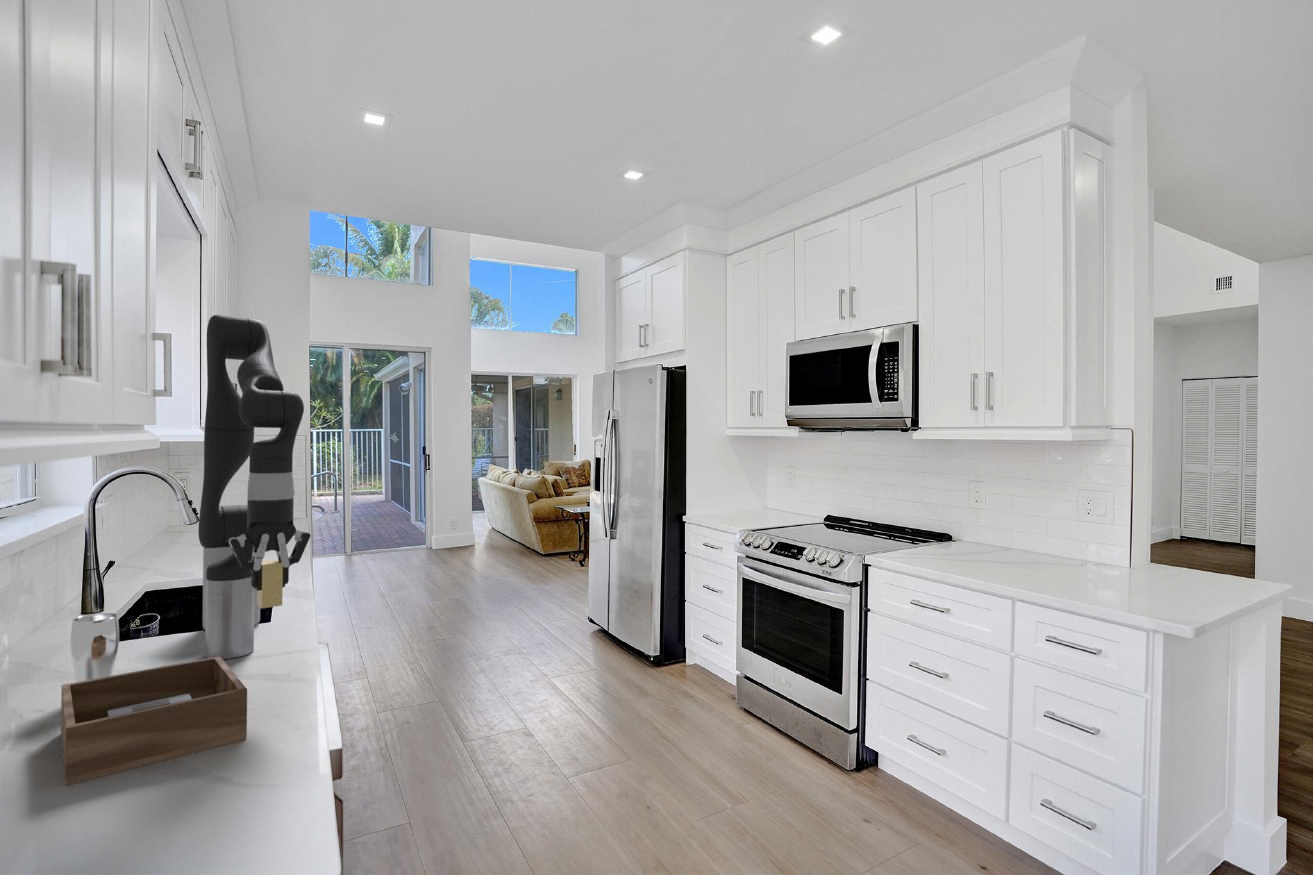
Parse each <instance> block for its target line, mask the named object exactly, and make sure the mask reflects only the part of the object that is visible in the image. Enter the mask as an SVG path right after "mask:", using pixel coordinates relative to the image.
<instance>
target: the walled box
mask: <svg viewBox="0 0 1313 875" xmlns="http://www.w3.org/2000/svg"><path fill="white" fill-rule="evenodd" d="M60 696H61V697H60V698H61V701H60V702H61V703H60V705H61V706H60V707H61V710H60V711H61V712H60V714H61V715H60V716H61V717H60V719H61V720H60V738H61V748H62V749H61V750H62V761H63V771H64V772H63V773H64V774H63V775H64V783H65V784H64V785H65V786H70V785H74V784H78V783H81V782H85V781H88V780H93V779H97V778H100V777H103V776H108V775H112V774H116V773H120V772H123V771H127V770H132V769H136V768H140V767H144V766H147V765H151V764H155V763H158V762H162V761H163V762H164V761H167V760H170V759H171V760H172V759H173V758H178V757H182V756H185V755H190V754H194V753H198V752H201V751H205V750H210V749H212V748H216V747H219V746H220V745H221V746H224V745H228V744H232V743H235V742H240V741H243V740H244V741H245V740H247V737H248V734H247V733H248V731H247V730H248V688H247V687H246V686H245V685H244V684H243V683H242V681H241V680H240V679H239V678H238V676H237V675H236V674H235V672H234V671H232V669H231V668H230V666H228V664H227V663H226V662H225V661H224V659H222V658H221V657H220V656H218V657H212V658H202V659H197V660H192V661H186V662H180V663H174V664H170V665H164V666H163V665H162V666H159V667H157V666H156V667H153V668H147V669H142V670H141V669H140V670H136V671H131V672H125V673H120V674H119V673H118V674H113V676H108V677H102V678H97V679H91V680H86V681H80V682H76V681H75V682H70V683H65V684H61V694H60ZM204 749H205V750H204ZM197 751H198V752H197Z"/></svg>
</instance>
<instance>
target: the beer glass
mask: <svg viewBox="0 0 1313 875" xmlns="http://www.w3.org/2000/svg"><path fill="white" fill-rule="evenodd" d="M119 625H120V624H119V614H118V613H117V612H99V613H90V614H85V615H80V616H78V617H77V616H76V617H75V618H73V619H72V621H71V630H70V631H71V632H70V644H69V645H70V656H71V660H72V661H71V662H72V664H73V666H72V667H73V670H74V674H75V682H80V681H86V680H91V679H97V678H102V677H108V676H113V675H114V670H115V663H116V659H117V655H118V651H119V650H118V649H119V644H120V626H119Z"/></svg>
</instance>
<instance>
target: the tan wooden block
mask: <svg viewBox="0 0 1313 875" xmlns="http://www.w3.org/2000/svg"><path fill="white" fill-rule="evenodd" d="M260 570H261V590H260V591H257V605H258V606H259V607H260V609H268V608H273V607H279V606H283V588H284V587H283V563H282V562H280V561H279V560H278V559H276V560H269V561H268V560H266V561H262V564H261V568H260ZM282 587H283V588H282Z"/></svg>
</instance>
